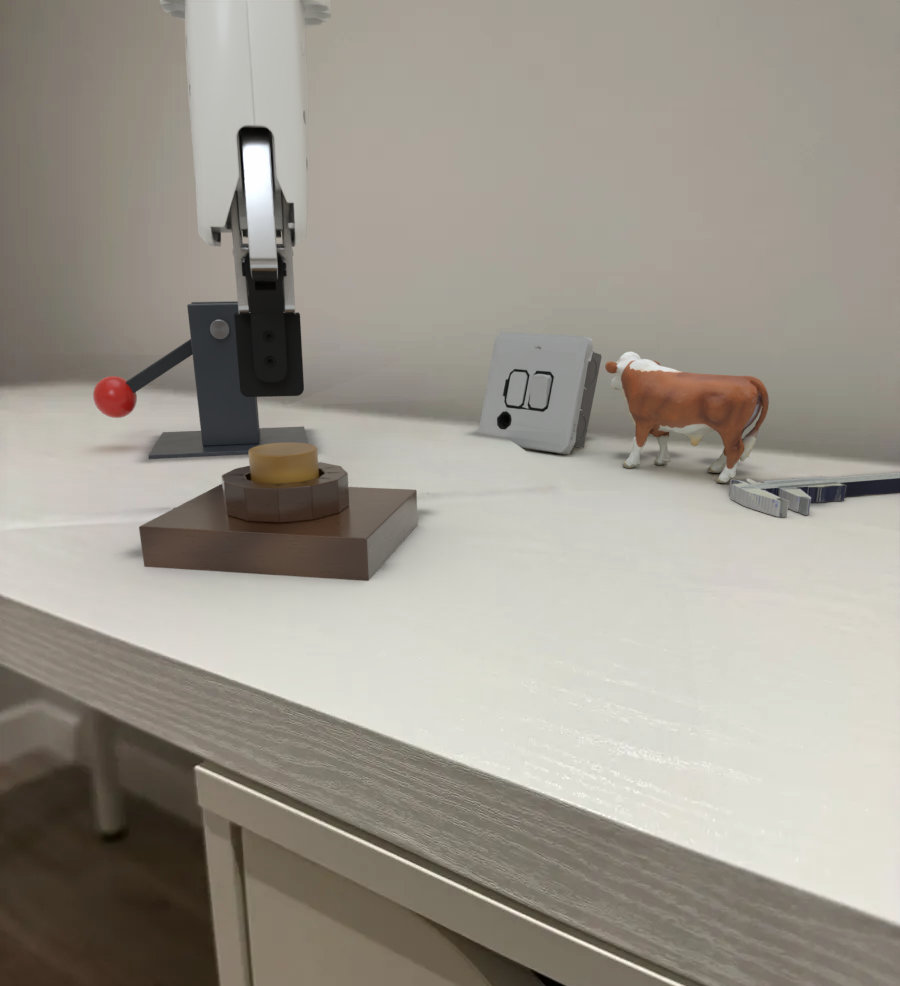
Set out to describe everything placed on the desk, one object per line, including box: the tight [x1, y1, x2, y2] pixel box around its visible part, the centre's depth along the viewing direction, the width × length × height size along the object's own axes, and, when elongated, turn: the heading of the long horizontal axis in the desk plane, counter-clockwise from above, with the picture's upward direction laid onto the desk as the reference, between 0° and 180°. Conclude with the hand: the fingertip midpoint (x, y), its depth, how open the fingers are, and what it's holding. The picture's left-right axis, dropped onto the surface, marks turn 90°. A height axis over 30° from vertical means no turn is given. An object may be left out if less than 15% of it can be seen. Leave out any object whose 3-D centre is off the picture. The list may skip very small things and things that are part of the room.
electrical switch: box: [477, 331, 603, 455], centre depth 73 cm, size 9×5×9 cm, turn 49°
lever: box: [92, 338, 193, 419], centre depth 69 cm, size 13×3×3 cm, turn 102°
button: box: [248, 443, 319, 483], centre depth 47 cm, size 4×4×2 cm
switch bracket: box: [148, 300, 309, 460], centre depth 70 cm, size 12×10×12 cm
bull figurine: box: [604, 351, 770, 484], centre depth 64 cm, size 4×13×8 cm, turn 41°
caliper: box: [728, 472, 900, 518], centre depth 59 cm, size 20×1×6 cm
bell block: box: [138, 461, 418, 582], centre depth 48 cm, size 12×10×4 cm
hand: (272, 393), depth 46 cm, fingers closed
